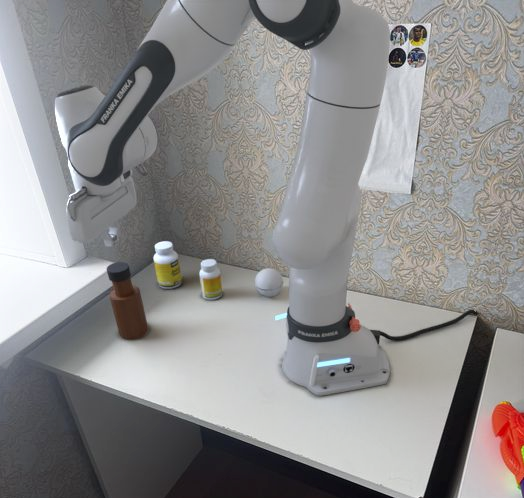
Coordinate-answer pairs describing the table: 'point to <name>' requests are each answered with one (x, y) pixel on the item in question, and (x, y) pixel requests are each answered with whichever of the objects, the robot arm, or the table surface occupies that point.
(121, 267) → the bung
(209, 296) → the supplement bottle
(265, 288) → the white rounded piece
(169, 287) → the pill bottle
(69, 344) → the table surface
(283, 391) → the table surface
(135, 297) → the bottle
